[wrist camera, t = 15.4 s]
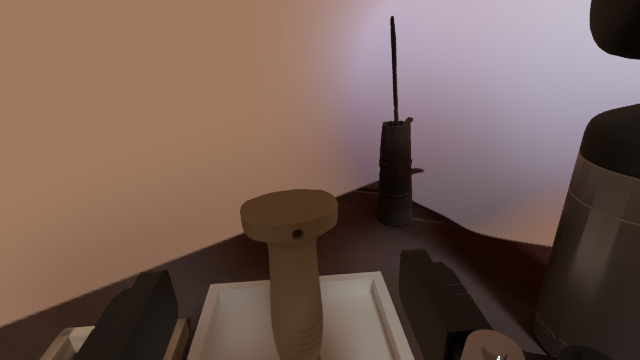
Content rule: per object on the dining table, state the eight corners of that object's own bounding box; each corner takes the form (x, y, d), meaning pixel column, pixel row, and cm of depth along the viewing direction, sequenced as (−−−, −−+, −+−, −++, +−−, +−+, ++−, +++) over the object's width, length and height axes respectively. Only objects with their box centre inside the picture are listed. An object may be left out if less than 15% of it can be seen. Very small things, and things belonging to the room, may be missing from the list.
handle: (258, 351, 30) (237, 197, 24) (328, 334, 32) (325, 184, 26) (266, 404, 26) (243, 231, 20) (346, 380, 27) (347, 214, 21)
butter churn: (409, 198, 59) (424, 16, 48) (443, 225, 50) (471, 12, 39) (359, 207, 56) (362, 18, 45) (386, 237, 48) (399, 13, 37)
